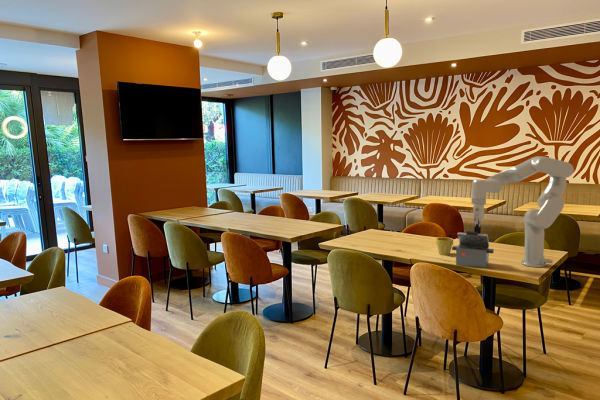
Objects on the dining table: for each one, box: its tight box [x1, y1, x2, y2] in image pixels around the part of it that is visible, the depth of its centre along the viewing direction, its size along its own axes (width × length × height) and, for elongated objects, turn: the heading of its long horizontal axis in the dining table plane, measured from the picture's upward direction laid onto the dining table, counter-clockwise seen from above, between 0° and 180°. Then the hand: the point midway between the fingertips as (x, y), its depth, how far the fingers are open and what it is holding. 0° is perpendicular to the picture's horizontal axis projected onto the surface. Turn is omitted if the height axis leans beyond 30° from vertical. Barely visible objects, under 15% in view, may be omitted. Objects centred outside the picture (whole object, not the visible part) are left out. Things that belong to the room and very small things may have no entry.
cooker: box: [451, 243, 494, 269], centre depth 250 cm, size 22×12×10 cm, turn 61°
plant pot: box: [435, 236, 454, 256], centre depth 275 cm, size 10×10×10 cm
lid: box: [457, 230, 490, 247], centre depth 251 cm, size 16×14×3 cm
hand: (477, 233), depth 247 cm, fingers closed
